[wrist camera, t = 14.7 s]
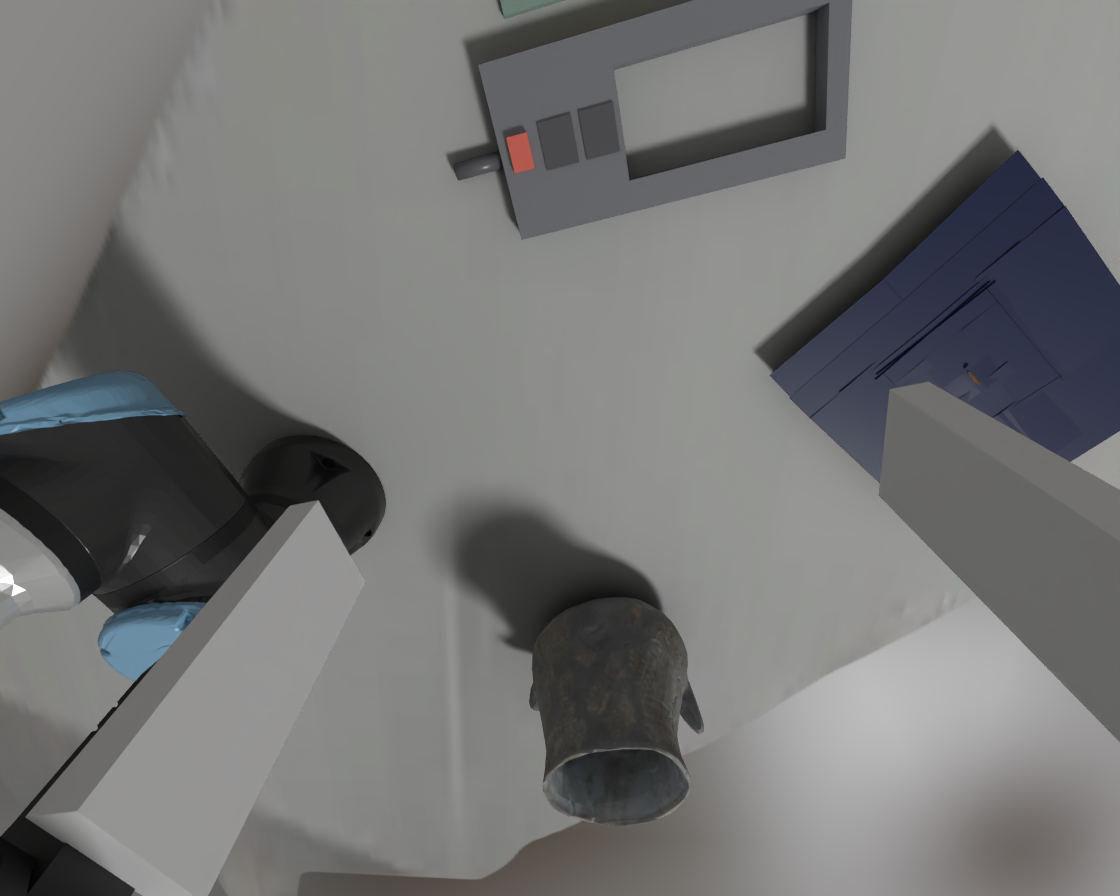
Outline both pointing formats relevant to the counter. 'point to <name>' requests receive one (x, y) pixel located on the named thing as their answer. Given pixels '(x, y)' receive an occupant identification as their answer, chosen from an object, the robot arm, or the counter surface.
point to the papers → (978, 328)
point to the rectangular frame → (595, 125)
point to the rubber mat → (523, 6)
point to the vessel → (613, 711)
